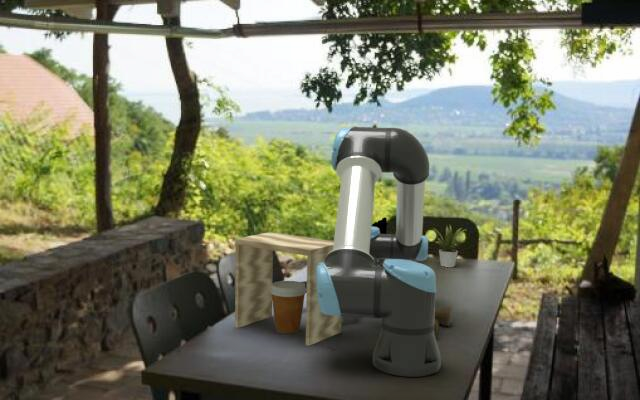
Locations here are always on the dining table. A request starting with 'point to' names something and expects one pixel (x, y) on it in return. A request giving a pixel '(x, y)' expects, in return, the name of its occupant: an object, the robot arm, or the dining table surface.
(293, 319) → the disposable coffee cup
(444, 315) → the kendama
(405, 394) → the dining table surface
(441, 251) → the house plant
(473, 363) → the dining table surface
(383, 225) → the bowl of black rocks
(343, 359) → the dining table surface
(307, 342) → the plywood stool
